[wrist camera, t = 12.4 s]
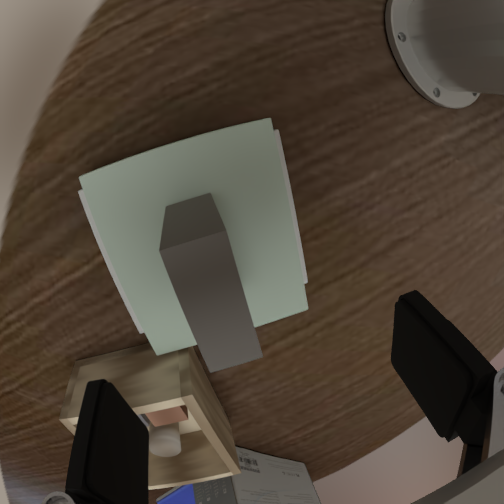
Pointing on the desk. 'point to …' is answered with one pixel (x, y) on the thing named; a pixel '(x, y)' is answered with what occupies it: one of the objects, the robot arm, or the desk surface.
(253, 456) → the hard drive box
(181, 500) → the hard drive
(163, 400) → the crate
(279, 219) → the lid
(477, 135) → the desk surface
